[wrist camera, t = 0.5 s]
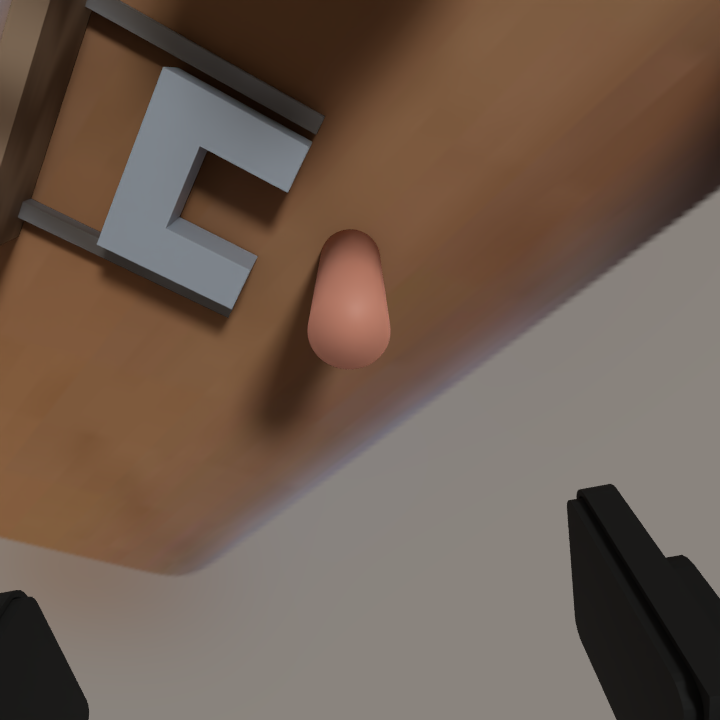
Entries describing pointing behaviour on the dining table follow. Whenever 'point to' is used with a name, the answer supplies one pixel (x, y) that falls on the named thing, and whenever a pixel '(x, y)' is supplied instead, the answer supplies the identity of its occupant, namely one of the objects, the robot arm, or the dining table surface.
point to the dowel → (349, 303)
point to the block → (177, 175)
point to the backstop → (45, 95)
